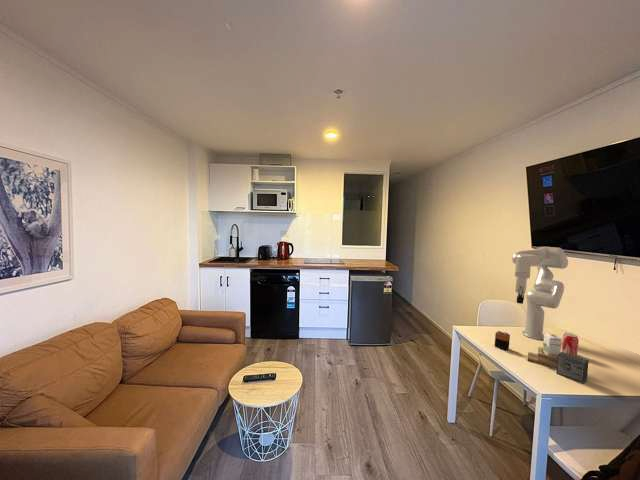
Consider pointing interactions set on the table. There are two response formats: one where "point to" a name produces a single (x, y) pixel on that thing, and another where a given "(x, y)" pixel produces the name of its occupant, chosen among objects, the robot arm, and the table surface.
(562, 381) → the table surface
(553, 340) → the syrup box
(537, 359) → the socket
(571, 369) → the small box
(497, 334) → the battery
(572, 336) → the soda can
